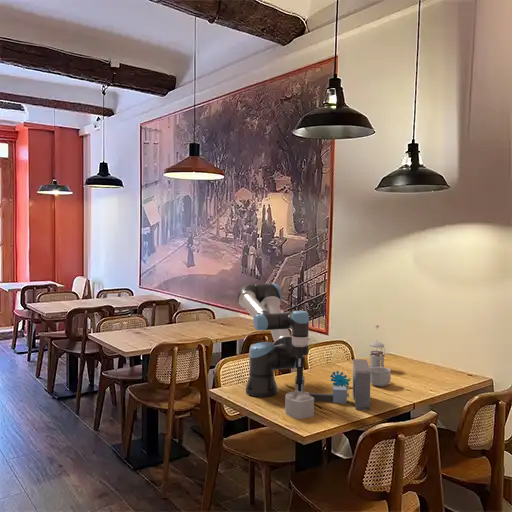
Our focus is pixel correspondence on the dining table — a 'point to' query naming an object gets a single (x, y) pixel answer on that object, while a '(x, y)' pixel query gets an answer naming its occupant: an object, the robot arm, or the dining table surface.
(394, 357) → the dining table surface
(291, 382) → the dining table surface
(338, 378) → the blue spiked virus model
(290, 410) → the lumpy-topped squat cylinder
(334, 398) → the blue-grey u-shaped block
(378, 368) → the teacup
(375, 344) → the french press
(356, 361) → the block
